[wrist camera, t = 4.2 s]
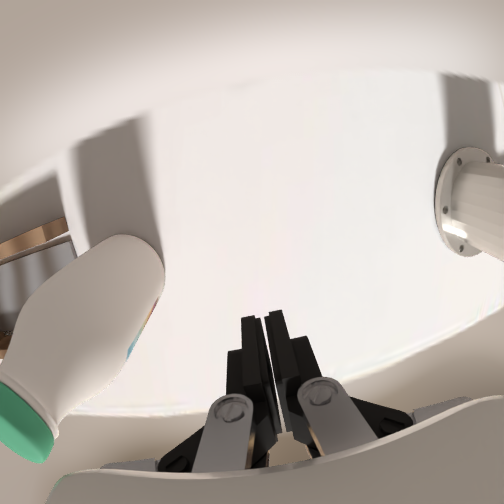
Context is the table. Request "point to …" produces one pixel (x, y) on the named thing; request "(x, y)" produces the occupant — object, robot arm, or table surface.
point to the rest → (29, 271)
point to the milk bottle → (75, 339)
